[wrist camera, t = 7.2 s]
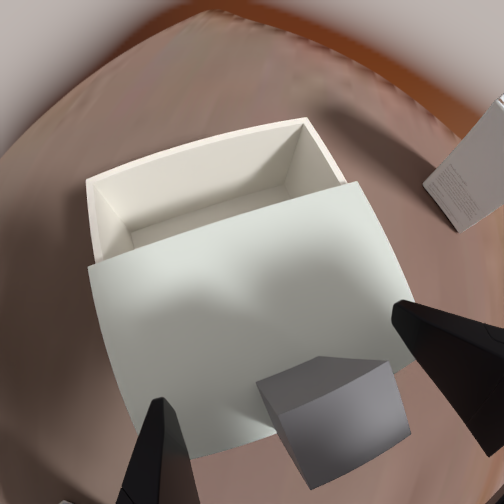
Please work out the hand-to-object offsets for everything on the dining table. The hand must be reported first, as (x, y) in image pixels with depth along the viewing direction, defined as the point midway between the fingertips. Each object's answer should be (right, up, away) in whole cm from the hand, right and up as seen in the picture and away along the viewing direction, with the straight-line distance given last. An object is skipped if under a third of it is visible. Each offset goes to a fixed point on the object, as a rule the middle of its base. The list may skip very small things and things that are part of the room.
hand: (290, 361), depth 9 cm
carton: (-3, +3, +10) cm, 11 cm away
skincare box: (+17, +8, +13) cm, 23 cm away
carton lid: (-1, +1, +2) cm, 2 cm away
